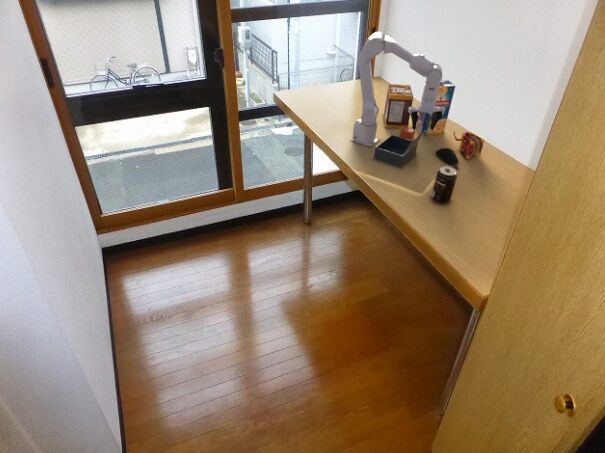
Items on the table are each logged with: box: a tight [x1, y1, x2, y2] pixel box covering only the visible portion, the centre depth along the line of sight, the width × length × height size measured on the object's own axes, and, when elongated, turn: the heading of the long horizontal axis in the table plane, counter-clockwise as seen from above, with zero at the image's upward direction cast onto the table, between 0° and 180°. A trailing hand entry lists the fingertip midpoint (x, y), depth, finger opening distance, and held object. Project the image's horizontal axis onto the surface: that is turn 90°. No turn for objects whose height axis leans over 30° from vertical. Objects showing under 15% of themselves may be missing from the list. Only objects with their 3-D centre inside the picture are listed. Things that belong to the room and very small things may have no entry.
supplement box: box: [383, 83, 414, 130], centre depth 200 cm, size 10×15×16 cm
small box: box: [399, 126, 416, 141], centre depth 186 cm, size 5×4×6 cm
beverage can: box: [430, 166, 458, 204], centre depth 149 cm, size 7×7×12 cm
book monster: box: [452, 130, 485, 160], centre depth 178 cm, size 11×9×12 cm
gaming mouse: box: [435, 147, 459, 170], centre depth 175 cm, size 6×15×4 cm, turn 15°
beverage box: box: [415, 80, 456, 135], centre depth 191 cm, size 7×11×22 cm, turn 98°
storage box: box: [373, 134, 419, 168], centre depth 176 cm, size 15×12×6 cm
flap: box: [403, 130, 426, 155], centre depth 169 cm, size 15×6×1 cm
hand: (422, 128), depth 178 cm, fingers open, 7 cm apart
